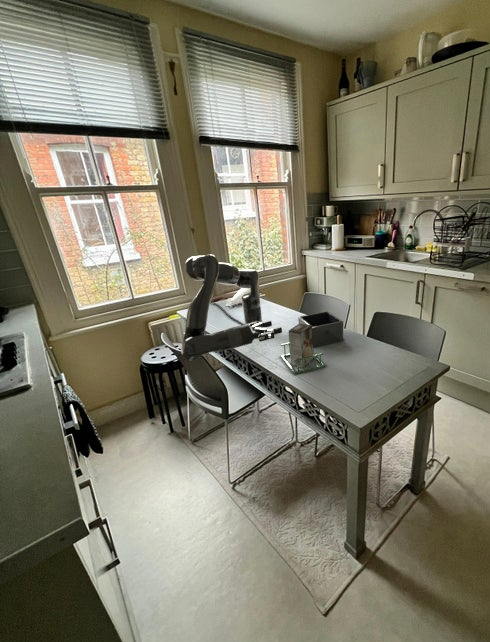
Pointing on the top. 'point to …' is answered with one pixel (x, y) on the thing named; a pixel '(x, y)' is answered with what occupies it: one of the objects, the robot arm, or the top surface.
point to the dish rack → (303, 361)
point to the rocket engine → (238, 296)
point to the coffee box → (301, 343)
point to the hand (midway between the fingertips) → (276, 326)
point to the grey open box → (324, 327)
